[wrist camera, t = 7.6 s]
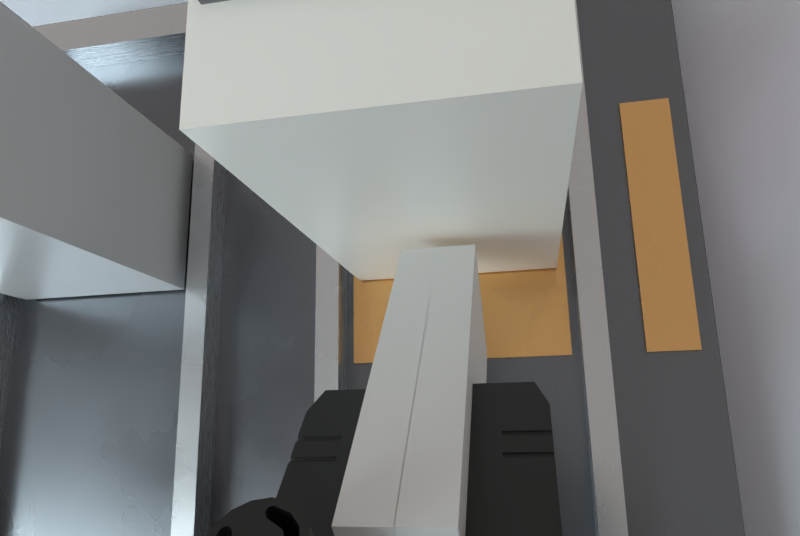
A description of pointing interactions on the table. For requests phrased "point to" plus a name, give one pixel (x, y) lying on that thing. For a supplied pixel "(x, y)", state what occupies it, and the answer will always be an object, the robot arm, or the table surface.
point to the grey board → (379, 324)
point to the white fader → (393, 121)
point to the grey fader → (82, 180)
